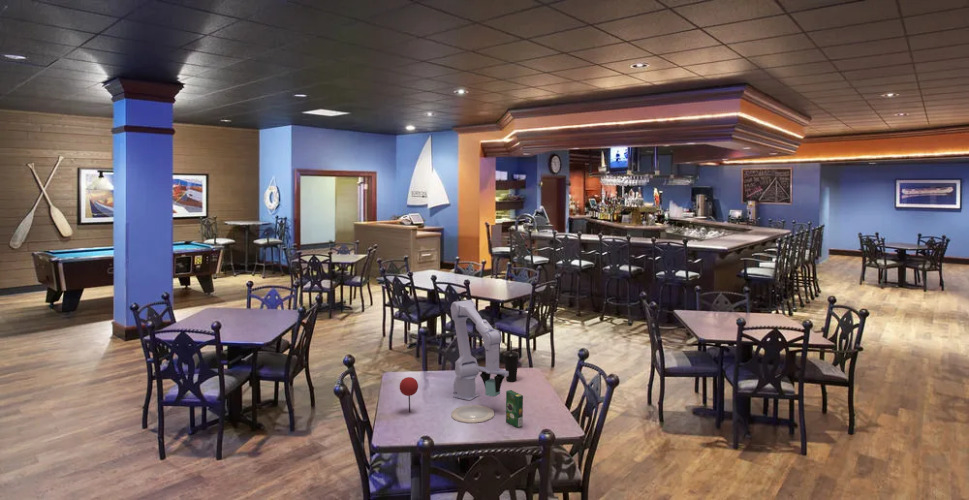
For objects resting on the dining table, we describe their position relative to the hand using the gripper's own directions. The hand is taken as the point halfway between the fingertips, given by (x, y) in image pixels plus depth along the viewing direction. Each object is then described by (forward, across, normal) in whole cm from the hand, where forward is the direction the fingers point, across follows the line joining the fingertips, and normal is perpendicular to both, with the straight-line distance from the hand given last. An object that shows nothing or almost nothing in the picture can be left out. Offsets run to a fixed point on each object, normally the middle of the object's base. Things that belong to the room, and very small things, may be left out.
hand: (492, 390), depth 249 cm
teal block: (+2, 0, 0) cm, 2 cm away
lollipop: (+9, -30, -19) cm, 37 cm away
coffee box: (+9, +15, -8) cm, 20 cm away
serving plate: (+9, -5, -8) cm, 13 cm away
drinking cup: (+9, -12, +39) cm, 42 cm away
